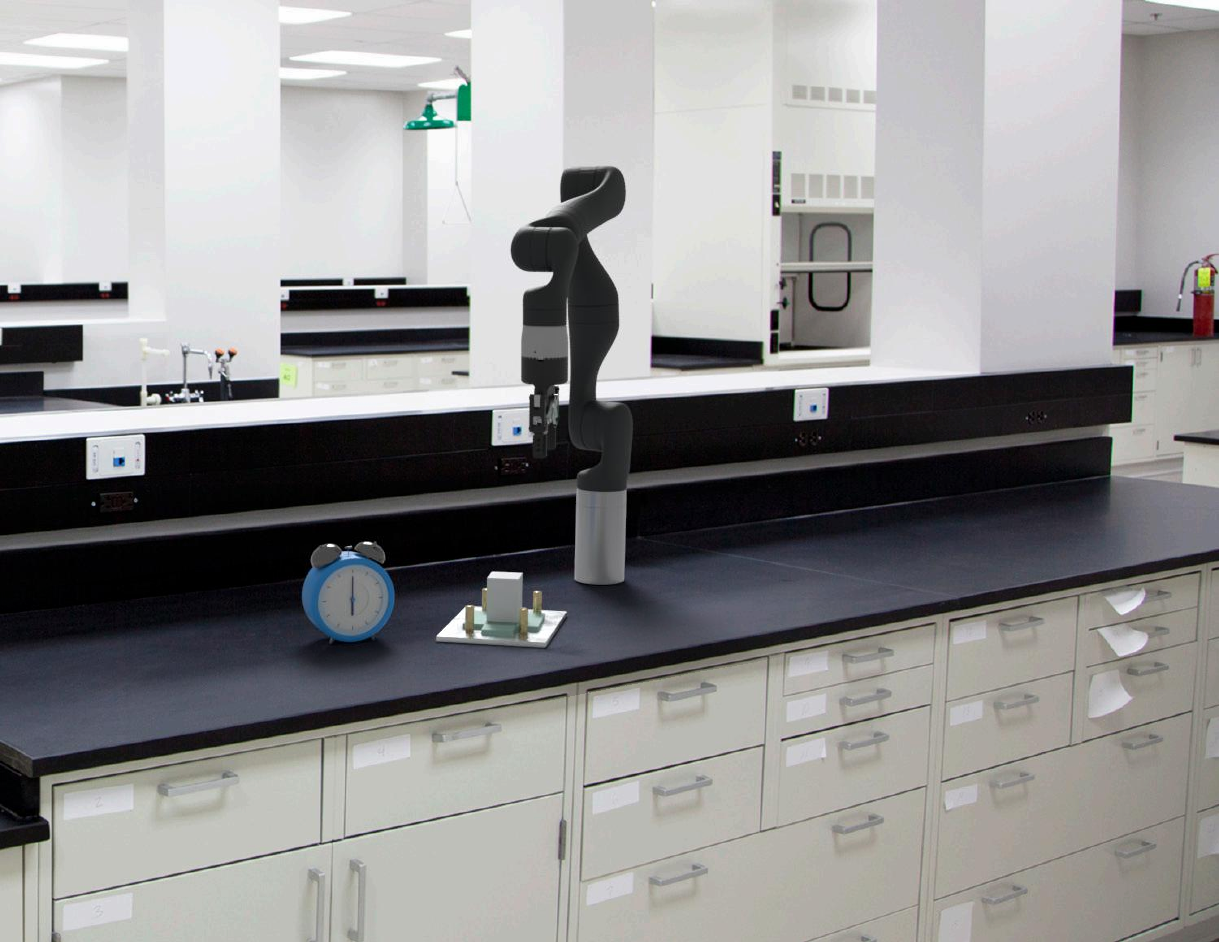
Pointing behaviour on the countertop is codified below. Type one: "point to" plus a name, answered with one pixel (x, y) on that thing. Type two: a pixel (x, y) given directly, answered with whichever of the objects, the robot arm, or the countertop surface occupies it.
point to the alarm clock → (348, 592)
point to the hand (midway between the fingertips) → (544, 453)
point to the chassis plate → (520, 638)
